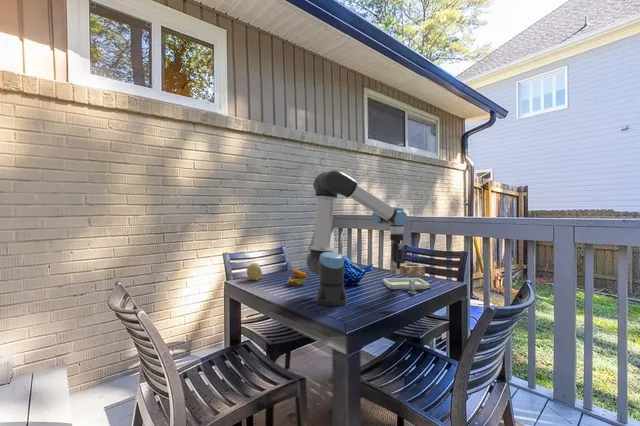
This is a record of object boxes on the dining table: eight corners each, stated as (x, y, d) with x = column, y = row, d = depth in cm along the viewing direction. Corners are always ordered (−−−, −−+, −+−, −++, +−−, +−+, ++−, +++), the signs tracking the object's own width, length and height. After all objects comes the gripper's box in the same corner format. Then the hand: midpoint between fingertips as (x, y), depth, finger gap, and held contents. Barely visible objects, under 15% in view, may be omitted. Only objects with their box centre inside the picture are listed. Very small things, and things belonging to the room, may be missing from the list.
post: (409, 294, 172) (409, 281, 172) (405, 291, 177) (405, 279, 177) (418, 294, 172) (418, 281, 172) (414, 291, 177) (414, 278, 177)
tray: (390, 289, 181) (390, 285, 181) (382, 282, 198) (382, 278, 198) (430, 289, 183) (430, 284, 183) (419, 282, 200) (419, 278, 200)
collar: (393, 276, 185) (393, 267, 184) (388, 272, 196) (388, 263, 195) (424, 275, 186) (424, 266, 186) (417, 271, 197) (417, 263, 197)
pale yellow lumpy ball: (262, 286, 204) (267, 272, 212) (257, 274, 196) (262, 260, 204) (247, 284, 207) (253, 271, 214) (242, 273, 199) (248, 259, 206)
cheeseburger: (286, 282, 198) (290, 266, 198) (303, 286, 199) (307, 270, 200) (286, 286, 188) (291, 269, 188) (304, 290, 189) (308, 273, 190)
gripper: (407, 234, 182) (407, 276, 182) (398, 232, 198) (398, 270, 199) (394, 234, 181) (394, 276, 182) (386, 232, 198) (386, 270, 198)
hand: (396, 273), depth 190 cm, fingers closed on collar, 3 cm apart
